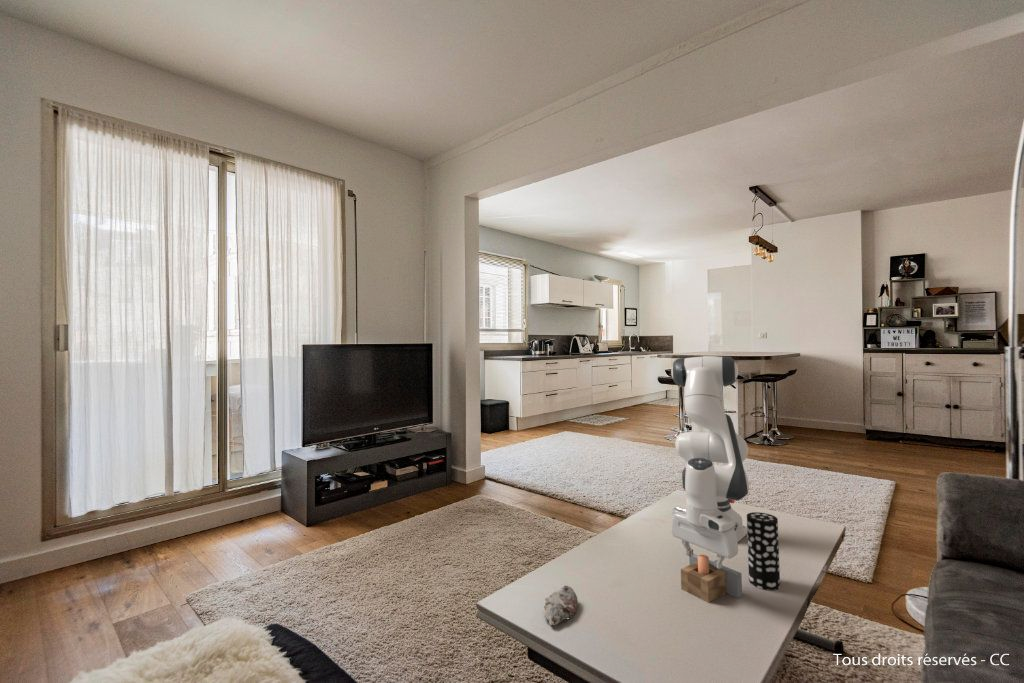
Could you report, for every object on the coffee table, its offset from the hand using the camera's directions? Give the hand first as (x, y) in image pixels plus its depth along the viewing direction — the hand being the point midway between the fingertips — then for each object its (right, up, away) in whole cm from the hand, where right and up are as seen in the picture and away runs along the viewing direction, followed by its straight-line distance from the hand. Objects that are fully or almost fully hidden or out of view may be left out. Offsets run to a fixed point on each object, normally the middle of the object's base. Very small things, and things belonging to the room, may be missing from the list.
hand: (703, 561), depth 137 cm
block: (0, -9, -1) cm, 9 cm away
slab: (+5, -9, +2) cm, 10 cm away
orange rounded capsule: (0, -9, -1) cm, 9 cm away
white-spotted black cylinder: (+20, -8, +3) cm, 22 cm away
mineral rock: (-43, -10, -10) cm, 46 cm away
